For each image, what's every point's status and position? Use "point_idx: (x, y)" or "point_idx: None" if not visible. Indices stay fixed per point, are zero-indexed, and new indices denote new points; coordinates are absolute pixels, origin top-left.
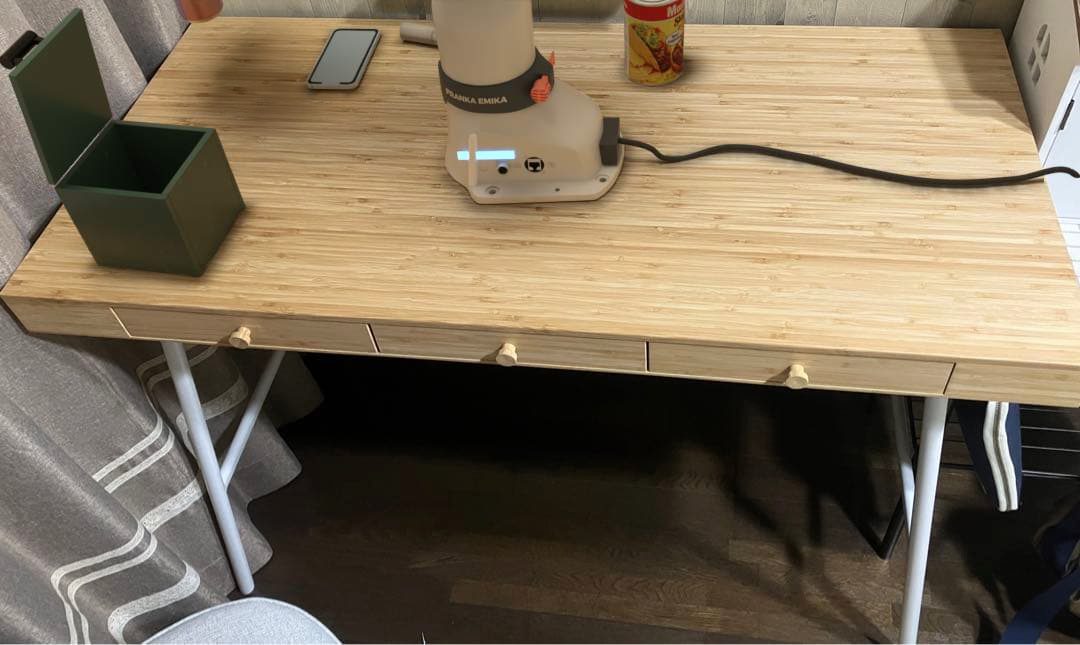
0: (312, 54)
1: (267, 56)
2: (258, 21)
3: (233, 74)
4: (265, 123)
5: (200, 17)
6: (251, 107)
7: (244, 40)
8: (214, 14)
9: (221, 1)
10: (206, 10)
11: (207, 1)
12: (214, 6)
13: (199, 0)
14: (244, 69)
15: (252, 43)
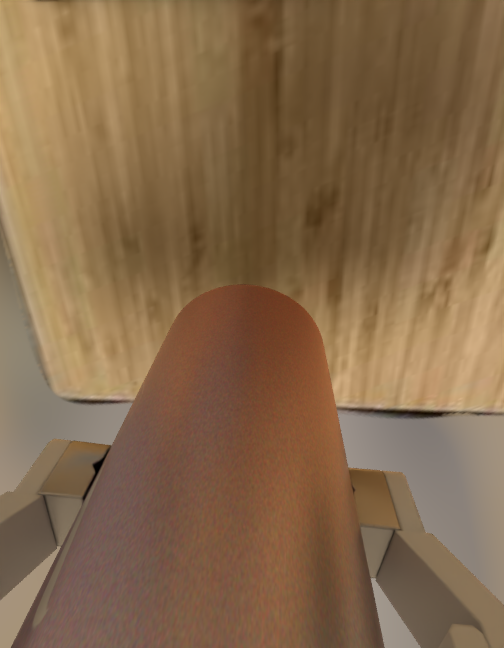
0: (142, 45)
1: (170, 187)
2: (33, 265)
3: (252, 248)
4: (478, 75)
5: (321, 337)
6: (396, 148)
7: (115, 271)
8: (287, 297)
9: (222, 293)
10: (308, 324)
11: (299, 329)
12: (277, 303)
13: (321, 359)
14: (230, 228)
15: (123, 247)
